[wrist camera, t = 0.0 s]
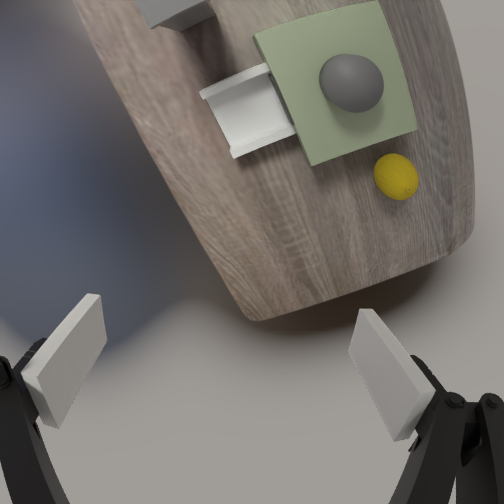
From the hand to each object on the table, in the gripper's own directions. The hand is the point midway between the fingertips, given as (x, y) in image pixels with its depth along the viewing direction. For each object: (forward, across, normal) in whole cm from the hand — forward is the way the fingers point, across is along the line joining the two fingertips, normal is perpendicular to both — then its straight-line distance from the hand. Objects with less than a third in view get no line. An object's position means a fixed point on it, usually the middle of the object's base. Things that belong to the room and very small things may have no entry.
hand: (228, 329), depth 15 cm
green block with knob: (+24, +7, +17) cm, 30 cm away
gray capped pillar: (+21, -7, +26) cm, 34 cm away
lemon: (+26, +20, +9) cm, 34 cm away
